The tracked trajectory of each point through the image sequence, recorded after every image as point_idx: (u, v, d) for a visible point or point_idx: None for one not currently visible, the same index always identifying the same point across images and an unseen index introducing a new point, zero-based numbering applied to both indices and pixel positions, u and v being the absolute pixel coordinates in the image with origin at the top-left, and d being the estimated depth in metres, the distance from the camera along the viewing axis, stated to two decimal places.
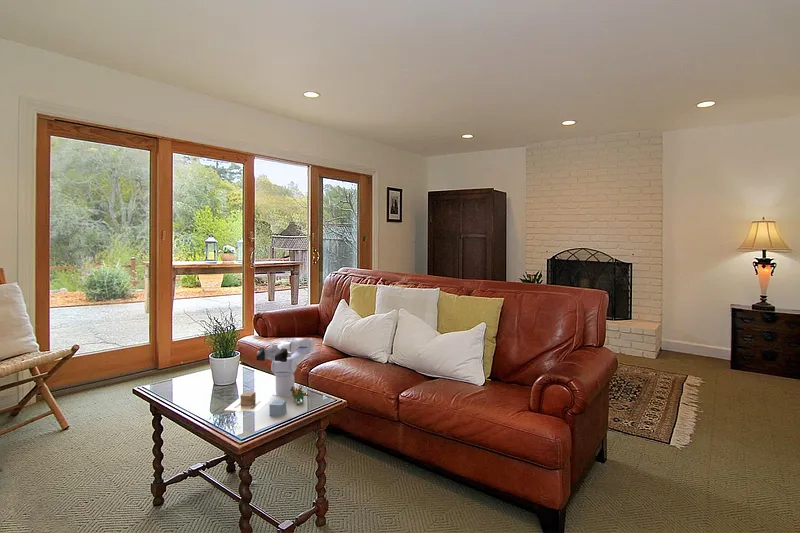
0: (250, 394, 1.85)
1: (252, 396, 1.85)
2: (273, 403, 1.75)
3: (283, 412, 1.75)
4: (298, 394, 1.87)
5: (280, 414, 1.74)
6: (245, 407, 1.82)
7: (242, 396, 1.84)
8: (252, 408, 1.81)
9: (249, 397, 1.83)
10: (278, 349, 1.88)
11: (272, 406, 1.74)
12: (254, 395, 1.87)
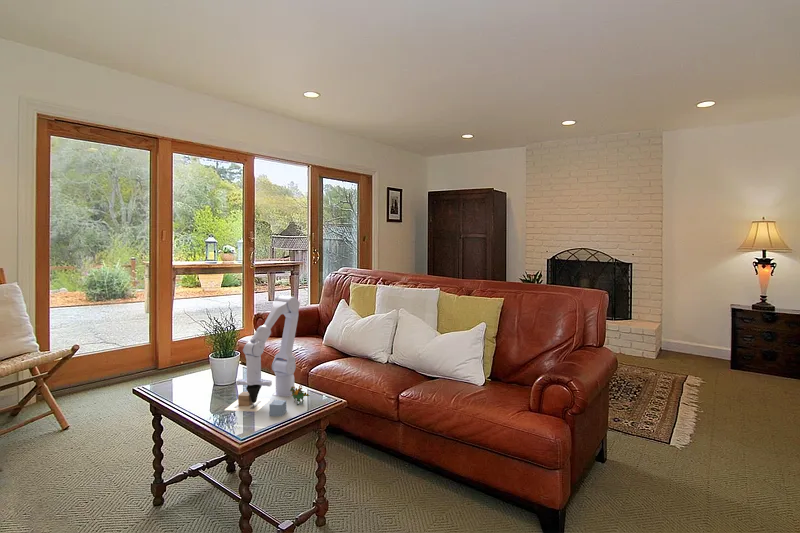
0: (247, 394, 1.85)
1: None
2: (273, 403, 1.75)
3: (283, 412, 1.75)
4: (298, 394, 1.87)
5: (280, 414, 1.74)
6: (245, 407, 1.82)
7: (240, 396, 1.84)
8: (252, 408, 1.81)
9: (247, 397, 1.83)
10: None
11: (272, 406, 1.74)
12: None
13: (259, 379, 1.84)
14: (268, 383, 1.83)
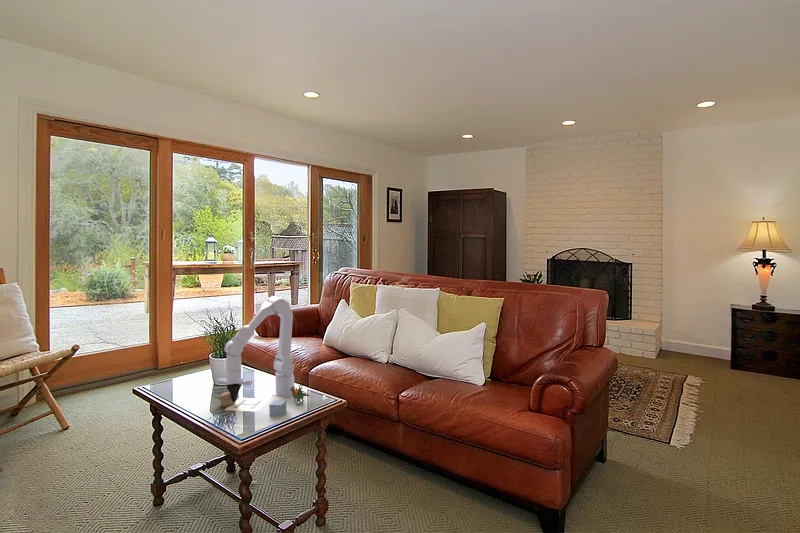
0: (228, 393, 1.86)
1: None
2: (273, 403, 1.75)
3: (283, 412, 1.75)
4: (298, 394, 1.87)
5: (280, 414, 1.74)
6: (245, 407, 1.82)
7: (221, 397, 1.84)
8: (252, 408, 1.81)
9: (228, 396, 1.84)
10: None
11: (272, 406, 1.74)
12: None
13: (239, 378, 1.85)
14: (248, 382, 1.84)
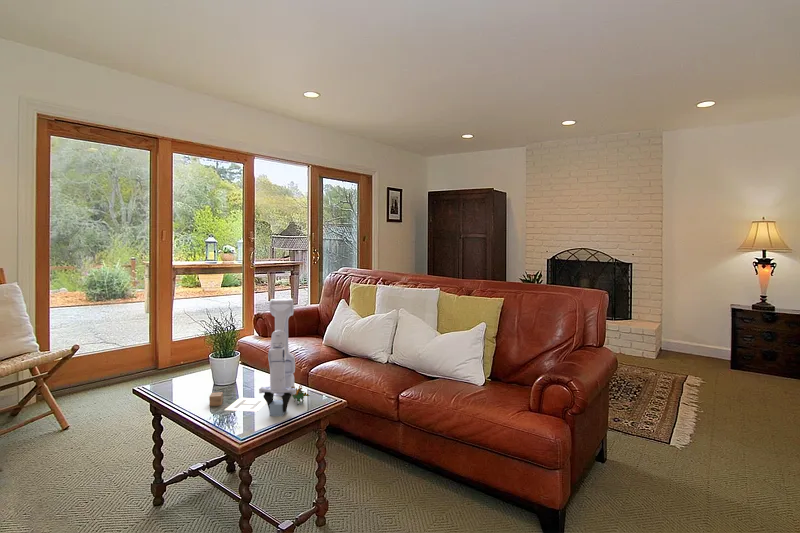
0: (218, 394, 1.86)
1: (221, 396, 1.86)
2: (273, 403, 1.75)
3: (283, 412, 1.75)
4: (298, 394, 1.87)
5: (280, 414, 1.74)
6: (245, 407, 1.82)
7: (211, 397, 1.84)
8: (252, 408, 1.81)
9: (219, 397, 1.85)
10: None
11: (272, 406, 1.74)
12: (222, 395, 1.88)
13: (283, 387, 1.75)
14: (293, 391, 1.74)
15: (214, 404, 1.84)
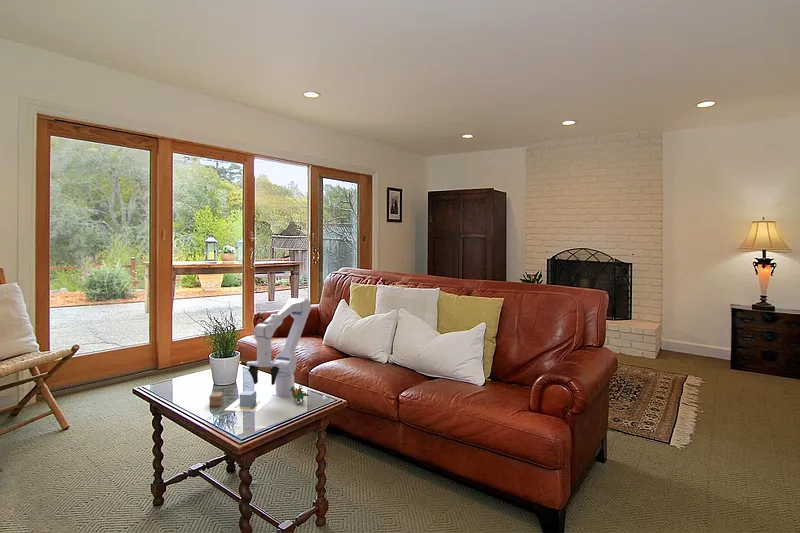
0: (218, 394, 1.86)
1: (221, 396, 1.86)
2: (243, 393, 1.85)
3: (253, 402, 1.85)
4: (298, 394, 1.87)
5: (249, 403, 1.83)
6: (245, 407, 1.82)
7: (211, 397, 1.84)
8: (252, 408, 1.81)
9: (219, 397, 1.85)
10: None
11: (242, 396, 1.83)
12: (222, 395, 1.88)
13: (269, 361, 1.86)
14: (278, 365, 1.86)
15: (214, 404, 1.84)
